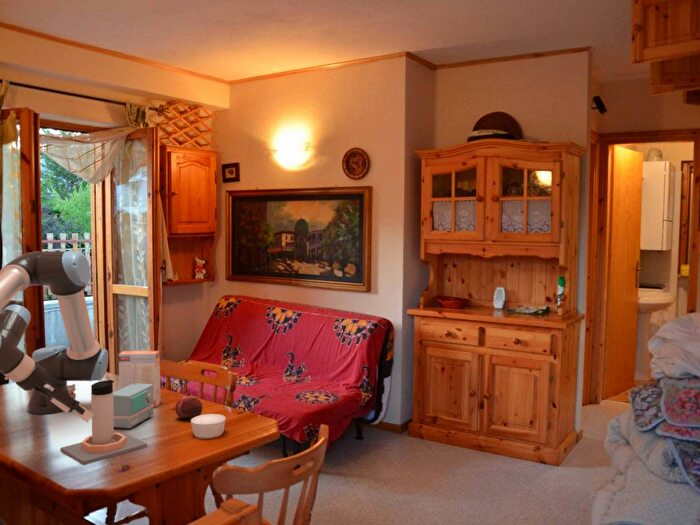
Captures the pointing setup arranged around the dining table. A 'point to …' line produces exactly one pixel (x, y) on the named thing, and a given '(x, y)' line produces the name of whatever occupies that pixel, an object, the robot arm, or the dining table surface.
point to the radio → (132, 404)
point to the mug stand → (102, 448)
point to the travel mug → (102, 413)
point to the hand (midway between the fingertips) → (79, 413)
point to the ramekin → (208, 425)
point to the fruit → (188, 407)
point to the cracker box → (140, 370)
